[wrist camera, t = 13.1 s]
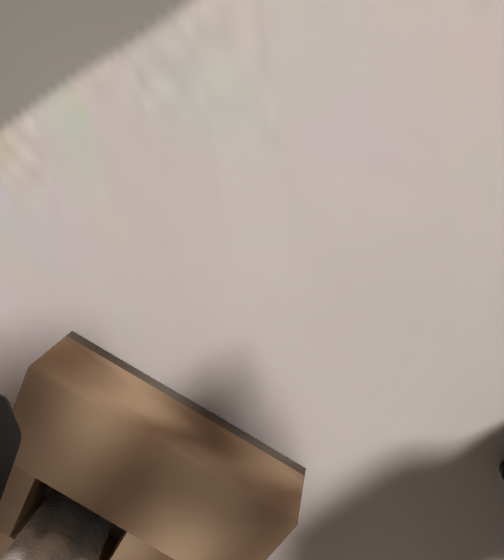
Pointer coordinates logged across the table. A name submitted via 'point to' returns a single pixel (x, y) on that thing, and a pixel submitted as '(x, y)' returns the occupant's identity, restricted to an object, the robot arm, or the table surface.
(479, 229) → the table surface
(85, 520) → the aluminium peg
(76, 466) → the pocket board
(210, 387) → the table surface
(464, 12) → the table surface
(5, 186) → the table surface
